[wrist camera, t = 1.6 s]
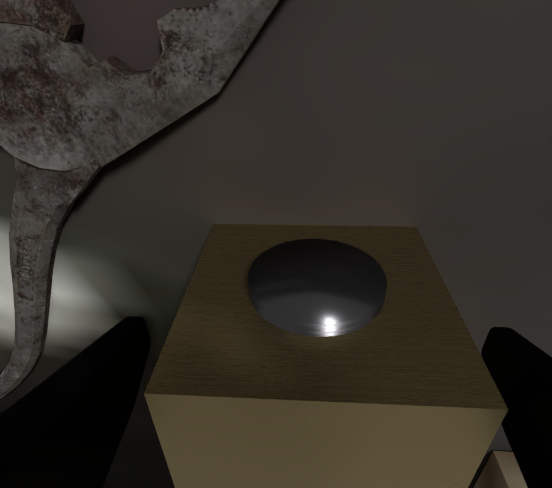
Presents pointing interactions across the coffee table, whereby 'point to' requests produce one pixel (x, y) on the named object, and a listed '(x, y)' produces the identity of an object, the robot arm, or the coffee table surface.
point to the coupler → (321, 365)
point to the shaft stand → (501, 472)
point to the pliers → (91, 123)
